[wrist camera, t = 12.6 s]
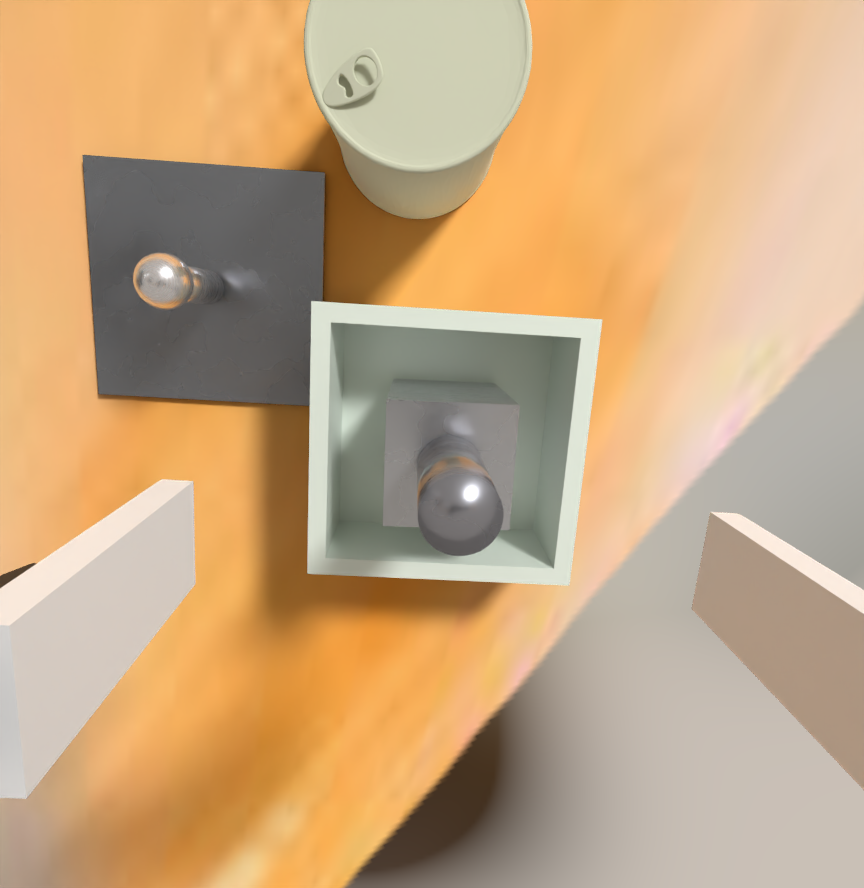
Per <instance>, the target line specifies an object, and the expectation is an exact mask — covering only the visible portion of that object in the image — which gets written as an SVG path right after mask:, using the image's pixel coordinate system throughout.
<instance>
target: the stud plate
mask: <svg viewBox="0 0 864 888" xmlns="http://www.w3.org/2000/svg"><path fill="white" fill-rule="evenodd" d="M83 168H84V183H85V198H86V213H87V228H88V242H89V257H90V272H91V287H92V302H93V317H94V332H95V347H96V362H97V376H98V391H99V394H108V395H126V396H143V397H161V398H179V399H197V400H214V401H232V402H250V403H268V404H285V405H303V406H310V355H311V301H319V302H323V288H324V236H325V184H326V174H325V173H324V172H310V171H296V170H282V169H269V168H255V167H241V166H228V165H214V164H200V163H186V162H173V161H159V160H145V159H131V158H118V157H104V156H90V155H83Z"/></svg>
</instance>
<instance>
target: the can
mask: <svg viewBox="0 0 864 888" xmlns="http://www.w3.org/2000/svg"><path fill="white" fill-rule="evenodd" d="M304 55H305V65H306V70H307V75H308V79H309V83H310V86H311V89H312V92H313V95H314V97H315V100H316V102H317V104H318V106H319V108H320V110H321V112H322V114H323V116H324V117H325V119H326V120H327V122H328V123H329V125H330V126H331V128H332V130H333V132H334V134H335V136H336V138H337V140H338V143H339V145H340V147H341V153H342V156H343V160H344V163H345V166H346V168H347V170H348V173H349V175H350V176H351V178H352V180H353V182H354V183H355V185H356V186H357V187H358V189H359V190H360V191H361V192H362V193H363V195H364V196H365V197H366V198H368V199H369V200H370V201H371V202H372V203H374V204H375V205H376V206H378V207H379V208H381V209H383V210H384V211H386V212H388V213H391V214H393V215H396V216H400V217H404V218H410V219H428V218H433V217H438V216H441V215H444V214H446V213H449V212H451V211H453V210H454V209H456V208H458V207H459V206H461V205H462V204H463V203H465V202H466V201H467V200H468V199H469V198H470V197H471V196H472V195H473V194H474V193H475V192H476V190H477V189H478V188H479V187H480V185H481V183H482V182H483V180H484V179H485V177H486V175H487V173H488V170H489V168H490V165H491V162H492V159H493V155H494V151H495V149H496V146H497V144H498V142H499V140H500V138H501V136H502V134H503V132H504V131H505V130H506V128H507V127H508V125H509V124H510V122H511V121H512V119H513V117H514V116H515V114H516V112H517V110H518V108H519V106H520V103H521V101H522V98H523V96H524V93H525V90H526V87H527V83H528V79H529V75H530V69H531V60H532V34H531V24H530V19H529V14H528V10H527V7H526V4H525V0H310V3H309V6H308V10H307V14H306V22H305V29H304Z"/></svg>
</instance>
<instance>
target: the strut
mask: <svg viewBox="0 0 864 888" xmlns="http://www.w3.org/2000/svg"><path fill="white" fill-rule="evenodd" d="M519 409H520V405H519V404H518V403H517V402H516V401H515V400H513V399H512V398H511V397H510V396H509V395H508V394H507V393H505V392H504V391H503V390H502V389H501V388H500V387H498V386H497V385H496V384H495V383H481V382H459V381H437V380H414V379H393V382H392V385H391V388H390V390H389V393H388V396H387V399H386V430H385V462H384V495H383V526H398V527H419V528H420V531H421V533H422V535H423V537H424V538H425V540H426V541H427V542H428V543H429V544H430V545H431V546H432V547H434V548H435V549H437V550H438V551H440V552H442V553H445V554H448V555H453V556H466V555H471V554H475V553H477V552H480V551H481V550H483V549H485V548H486V547H487V546H489V545H490V544H491V543H492V542H493V541H494V540H495V538H496V537H497V535H498V534H499V532H500V530H510V517H511V505H512V493H513V481H514V469H515V457H516V445H517V433H518V421H519Z"/></svg>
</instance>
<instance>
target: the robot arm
mask: <svg viewBox="0 0 864 888" xmlns="http://www.w3.org/2000/svg"><path fill="white" fill-rule="evenodd" d="M194 585H195V542H194V489H193V481H181V480H165V479H161V480H160V481H158V482H157V483H155V484H154V485H152V486H151V487H149V488H148V489H146V490H145V491H144V492H142V493H141V494H139V495H138V496H136V497H135V498H133V499H132V500H130V501H129V502H127V503H126V504H124V505H123V506H121V507H120V508H118V509H117V510H115V511H114V512H112V513H111V514H110V515H108V516H107V517H105V518H104V519H102V520H101V521H99V522H98V523H96V524H95V525H93V526H92V527H90V528H89V529H87V530H86V531H84V532H83V533H81V534H80V535H78V536H77V537H76V538H74V539H73V540H71V541H70V542H68V543H67V544H65V545H64V546H62V547H61V548H59V549H58V550H56V551H55V552H53V553H52V554H50V555H49V556H47V557H46V558H44V559H43V560H41V561H40V562H39V563H32V564H29V565H26V566H24V567H21V568H19V569H16V570H14V571H11V572H8V573H6V574H3V575H1V576H0V798H24V799H27V797H28V796H29V795H30V794H31V792H32V791H33V790H34V788H35V787H36V786H37V785H38V783H39V782H40V781H41V780H42V778H43V777H44V776H45V774H46V773H47V772H48V771H49V769H50V768H51V767H52V766H53V764H54V763H55V762H56V760H57V759H58V758H59V757H60V755H61V754H62V753H63V752H64V750H65V749H66V748H67V747H68V745H69V744H70V743H71V741H72V740H73V739H74V738H75V736H76V735H77V734H78V733H79V731H80V730H81V729H82V727H83V726H84V725H85V724H86V722H87V721H88V720H89V719H90V717H91V716H92V715H93V713H94V712H95V711H96V710H97V708H98V707H99V706H100V705H101V703H102V702H103V701H104V699H105V698H106V697H107V696H108V694H109V693H110V692H111V691H112V689H113V688H114V687H115V685H116V684H117V683H118V682H119V680H120V679H121V678H122V677H123V675H124V674H125V673H126V671H127V670H128V669H129V668H130V666H131V665H132V664H133V663H134V661H135V660H136V659H137V657H138V656H139V655H140V654H141V652H142V651H143V650H144V649H145V647H146V646H147V645H148V643H149V642H150V641H151V640H152V638H153V637H154V636H155V635H156V633H157V632H158V631H159V630H160V628H161V627H162V626H163V624H164V623H165V622H166V621H167V619H168V618H169V617H170V616H171V614H172V613H173V612H174V610H175V609H176V608H177V607H178V605H179V604H180V603H181V602H182V600H183V599H184V598H185V596H186V595H187V594H188V593H189V591H190V590H191V589H192V588H193V586H194ZM692 610H693V611H694V612H695V613H696V614H697V615H698V616H699V617H700V618H701V619H702V620H703V621H704V622H705V623H706V624H707V625H708V627H709V628H710V629H712V631H713V632H714V633H715V634H716V635H717V636H718V637H719V638H720V639H721V640H722V641H723V642H724V643H725V644H726V645H727V646H728V648H729V649H730V650H731V651H732V652H733V653H734V654H735V655H736V656H737V657H738V658H739V659H740V660H741V661H742V662H743V663H744V664H745V665H746V666H747V668H748V669H749V670H750V671H751V672H752V673H753V674H754V675H755V676H756V677H757V678H758V679H759V680H760V681H761V682H762V683H763V684H764V685H765V686H766V687H767V689H768V690H769V691H770V692H771V693H772V694H773V695H774V696H775V697H776V698H777V699H778V700H779V701H780V702H781V703H782V704H783V705H784V706H785V707H786V709H787V710H788V711H789V712H790V713H791V714H792V715H793V716H794V717H795V718H796V719H797V720H798V721H799V722H800V723H801V724H802V725H803V726H804V727H805V729H807V730H808V732H809V733H810V734H811V735H812V736H813V737H814V738H815V739H816V740H817V741H818V742H819V743H820V744H821V745H822V746H823V747H824V748H825V750H826V751H827V752H828V753H829V754H830V755H831V756H832V757H833V758H834V759H835V760H836V761H837V762H838V763H839V764H840V765H841V766H842V767H843V768H844V770H845V771H846V772H847V773H848V774H849V775H850V776H851V777H852V778H853V779H854V780H855V781H856V782H857V783H858V784H859V785H860V786H861V787H862V788H863V790H864V590H863V589H861V588H860V587H858V586H856V585H855V584H853V583H851V582H850V581H848V580H846V579H845V578H843V577H841V576H840V575H838V574H837V573H835V572H833V571H832V570H830V569H828V568H827V567H825V566H823V565H822V564H820V563H819V562H817V561H815V560H814V559H812V558H810V557H809V556H807V555H806V554H804V553H802V552H801V551H799V550H797V549H796V548H794V547H793V546H791V545H789V544H788V543H786V542H784V541H783V540H781V539H780V538H778V537H776V536H775V535H773V534H771V533H770V532H768V531H766V530H765V529H763V528H761V527H760V526H758V525H757V524H755V523H753V522H752V521H750V520H748V519H747V518H745V517H744V516H742V515H740V514H736V513H719V512H710V516H709V521H708V527H707V532H706V537H705V543H704V547H703V552H702V558H701V563H700V568H699V574H698V578H697V583H696V589H695V594H694V599H693V604H692Z"/></svg>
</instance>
